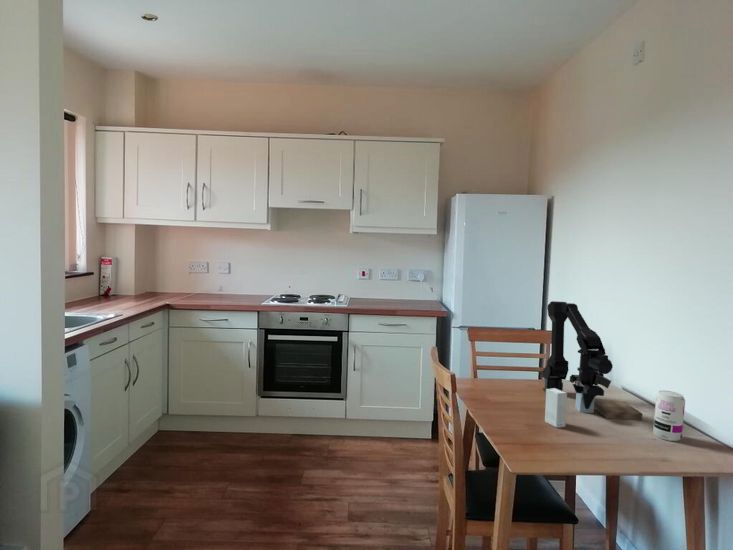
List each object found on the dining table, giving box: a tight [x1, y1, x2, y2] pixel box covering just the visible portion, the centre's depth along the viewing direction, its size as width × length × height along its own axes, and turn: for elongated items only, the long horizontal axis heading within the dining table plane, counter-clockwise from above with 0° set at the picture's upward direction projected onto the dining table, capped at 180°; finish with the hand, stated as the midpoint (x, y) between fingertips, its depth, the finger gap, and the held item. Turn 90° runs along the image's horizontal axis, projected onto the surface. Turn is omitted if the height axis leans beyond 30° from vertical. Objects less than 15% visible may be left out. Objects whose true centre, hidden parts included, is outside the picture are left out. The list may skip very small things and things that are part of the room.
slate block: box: [574, 392, 596, 414], centre depth 183 cm, size 5×5×6 cm
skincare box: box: [544, 388, 568, 428], centre depth 166 cm, size 6×4×12 cm
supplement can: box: [652, 390, 686, 442], centre depth 159 cm, size 8×8×15 cm
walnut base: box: [594, 399, 643, 421], centre depth 182 cm, size 13×13×2 cm
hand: (584, 406), depth 183 cm, fingers closed on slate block, 5 cm apart
